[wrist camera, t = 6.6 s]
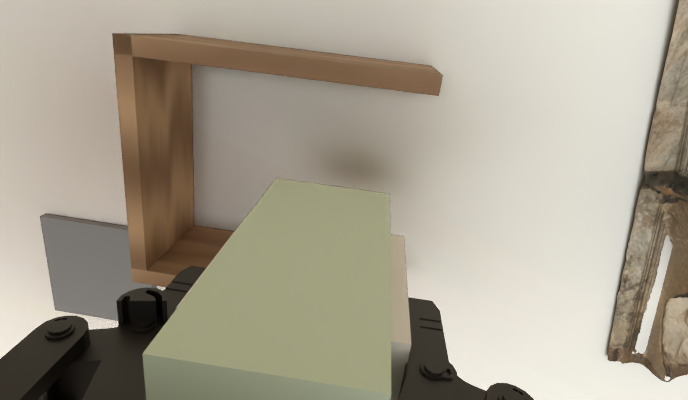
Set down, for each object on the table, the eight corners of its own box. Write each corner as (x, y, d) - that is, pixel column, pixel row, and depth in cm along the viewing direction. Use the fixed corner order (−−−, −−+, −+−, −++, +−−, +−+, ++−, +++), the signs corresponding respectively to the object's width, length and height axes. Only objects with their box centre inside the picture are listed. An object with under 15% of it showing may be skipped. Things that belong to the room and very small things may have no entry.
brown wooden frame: (176, 33, 29) (112, 33, 22) (431, 65, 28) (442, 75, 21) (182, 234, 34) (132, 281, 28) (394, 267, 33) (394, 324, 27)
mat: (45, 213, 35) (40, 216, 34) (152, 230, 34) (148, 233, 34) (60, 306, 38) (55, 309, 38) (157, 322, 38) (153, 326, 37)
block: (276, 178, 19) (142, 353, 9) (390, 193, 19) (391, 394, 8) (270, 275, 21) (155, 515, 10) (374, 291, 20) (359, 551, 10)
